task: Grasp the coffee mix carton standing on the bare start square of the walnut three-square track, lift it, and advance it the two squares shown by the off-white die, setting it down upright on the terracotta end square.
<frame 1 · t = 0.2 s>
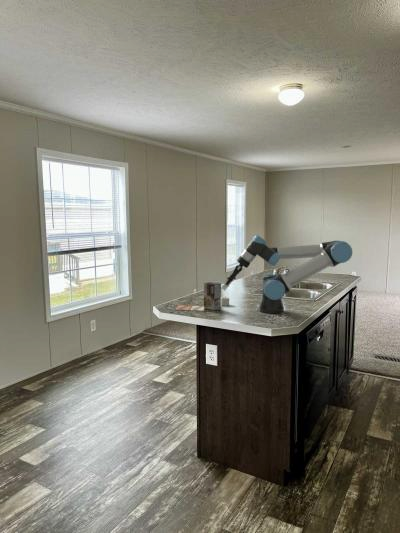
hand: (224, 287, 229), 16 cm above the worktop, tool tilted 35°, fingers open, 13 cm apart
die: (224, 305, 256), on the worktop
coffee box: (212, 308, 243), on the worktop, touching board
board: (197, 308, 244), on the worktop
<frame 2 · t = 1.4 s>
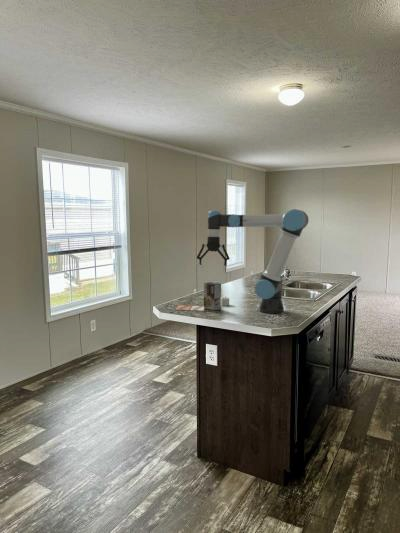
hand: (212, 270, 240), 24 cm above the worktop, tool pointing down, fingers open, 13 cm apart
nothing on the worktop moved.
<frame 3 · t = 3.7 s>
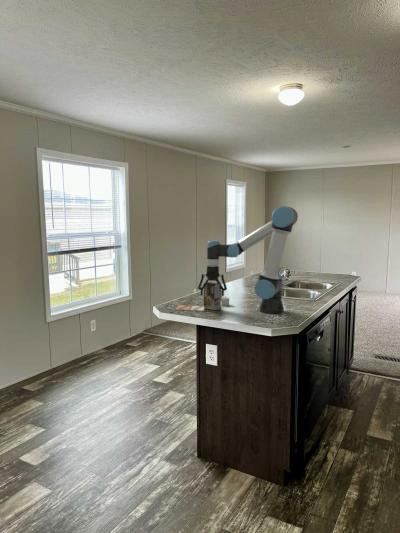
hand: (212, 300, 242), 5 cm above the worktop, tool pointing down, fingers closed on coffee box, 11 cm apart
coffee box: (212, 308, 243), on the worktop, touching board, gripper
everything else where it was.
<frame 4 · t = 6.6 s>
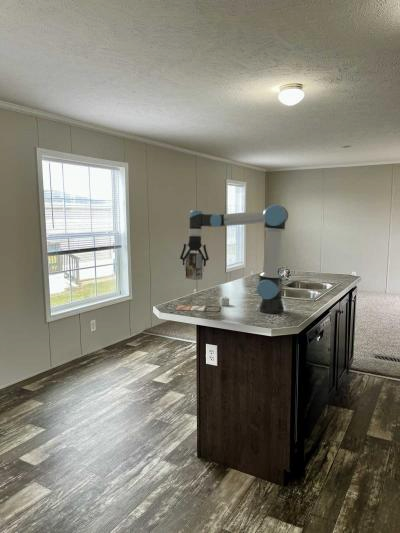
hand: (194, 271, 242), 24 cm above the worktop, tool pointing down, fingers closed on coffee box, 11 cm apart
coffee box: (193, 279, 242), point 19 cm above the worktop, touching gripper
everything else where it was.
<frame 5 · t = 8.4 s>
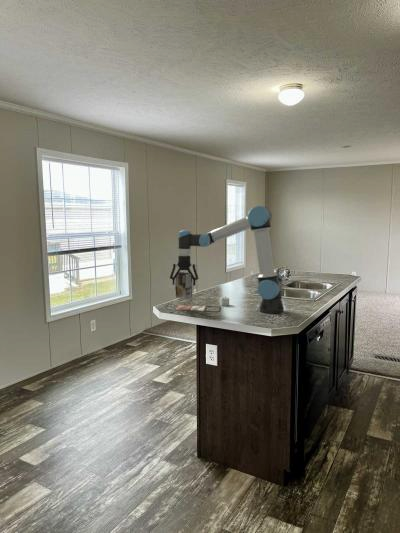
hand: (183, 290, 244), 11 cm above the worktop, tool pointing down, fingers closed on coffee box, 11 cm apart
coffee box: (183, 298, 244), point 6 cm above the worktop, touching gripper
everything else where it was.
when the fingers open (7 cm above the worktop, at t = 9.9 s): coffee box drops 1 cm, resting on board.
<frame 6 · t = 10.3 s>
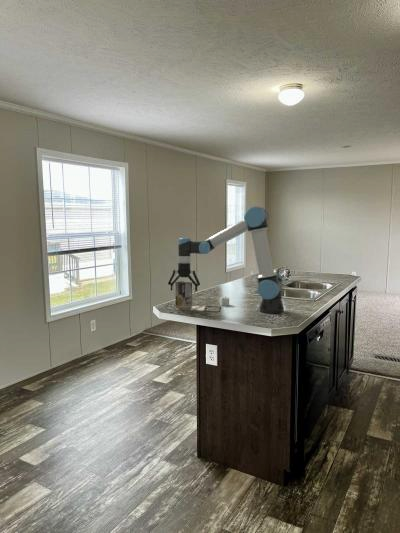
hand: (183, 296, 244), 8 cm above the worktop, tool pointing down, fingers open, 13 cm apart
coffee box: (183, 307, 245), resting on board
everything else where it was.
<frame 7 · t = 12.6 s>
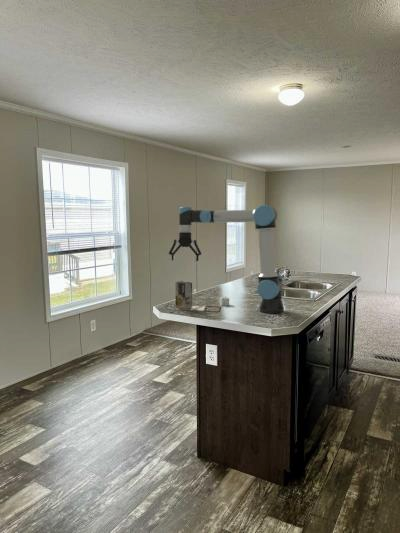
hand: (185, 266, 242), 27 cm above the worktop, tool pointing down, fingers open, 13 cm apart
nothing on the worktop moved.
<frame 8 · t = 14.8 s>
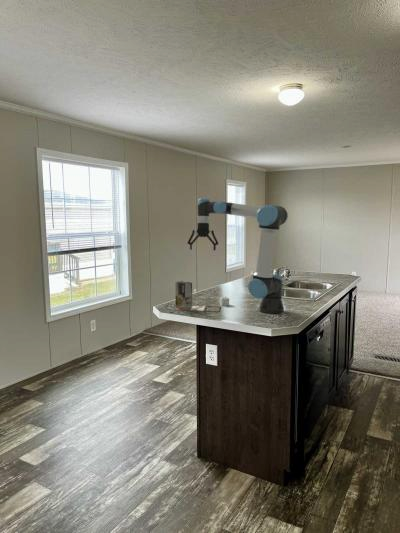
hand: (202, 255, 254), 33 cm above the worktop, tool pointing down, fingers open, 13 cm apart
nothing on the worktop moved.
at the end: coffee box 0.2 cm from the target spot on the board, point 0.2 cm above the board's base; coffee box tilted 0°; the gripper is holding nothing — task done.
